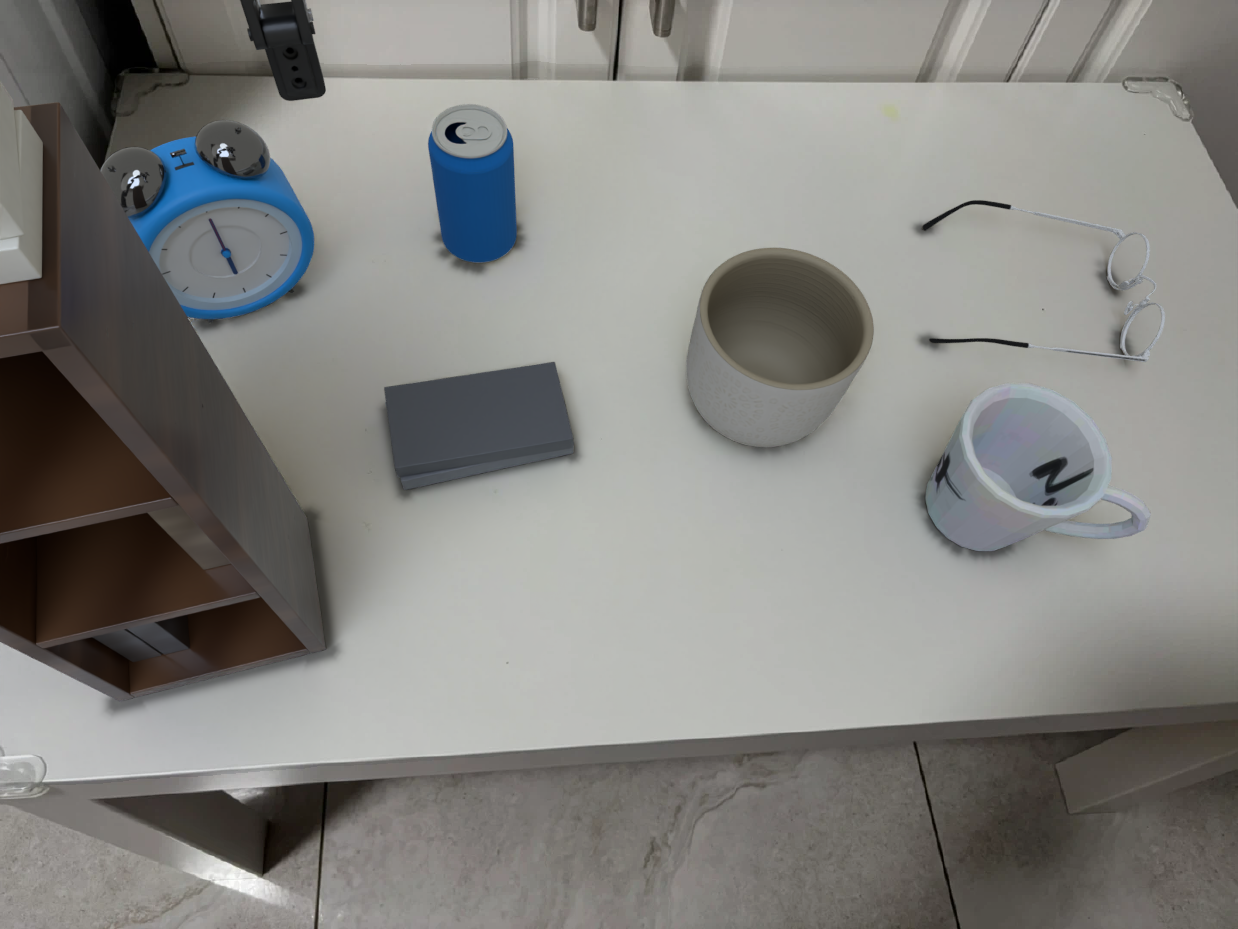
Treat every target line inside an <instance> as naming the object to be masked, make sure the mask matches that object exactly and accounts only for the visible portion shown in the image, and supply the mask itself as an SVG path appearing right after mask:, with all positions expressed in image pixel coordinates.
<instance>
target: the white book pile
mask: <svg viewBox="0 0 1238 929" xmlns="http://www.w3.org/2000/svg"><path fill="white" fill-rule="evenodd" d="M14 105H15V104H14V99H13V98H12V96H11V95H10V93H9V91H8V90H7V89H6V87H5V86H4V84H3V82H2V80H0V284H6V283H13V282H19V281H26V280H32V279H38V278H41V277H42V188H43V142H42V141H41V139H40V138H39V136H38V135H37V133H36V132H35V130H34V128H33V127H32V125H31V124H30V122H29V121H28V119H27V118H26V116H25V115H24V113H23V111H22V110H14V107H15V106H14Z"/></svg>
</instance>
